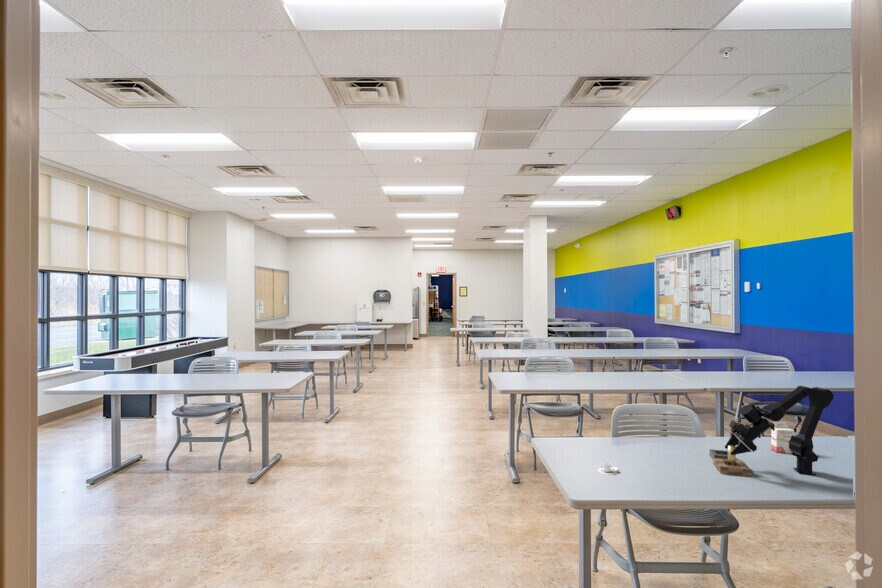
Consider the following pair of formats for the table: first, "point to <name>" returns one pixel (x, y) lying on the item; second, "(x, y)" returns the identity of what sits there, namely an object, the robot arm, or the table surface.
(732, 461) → the brass cylinder
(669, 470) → the table surface
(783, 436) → the ink cartridge box
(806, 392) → the robot arm
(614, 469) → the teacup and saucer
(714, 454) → the socket block
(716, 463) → the wooden square frame
